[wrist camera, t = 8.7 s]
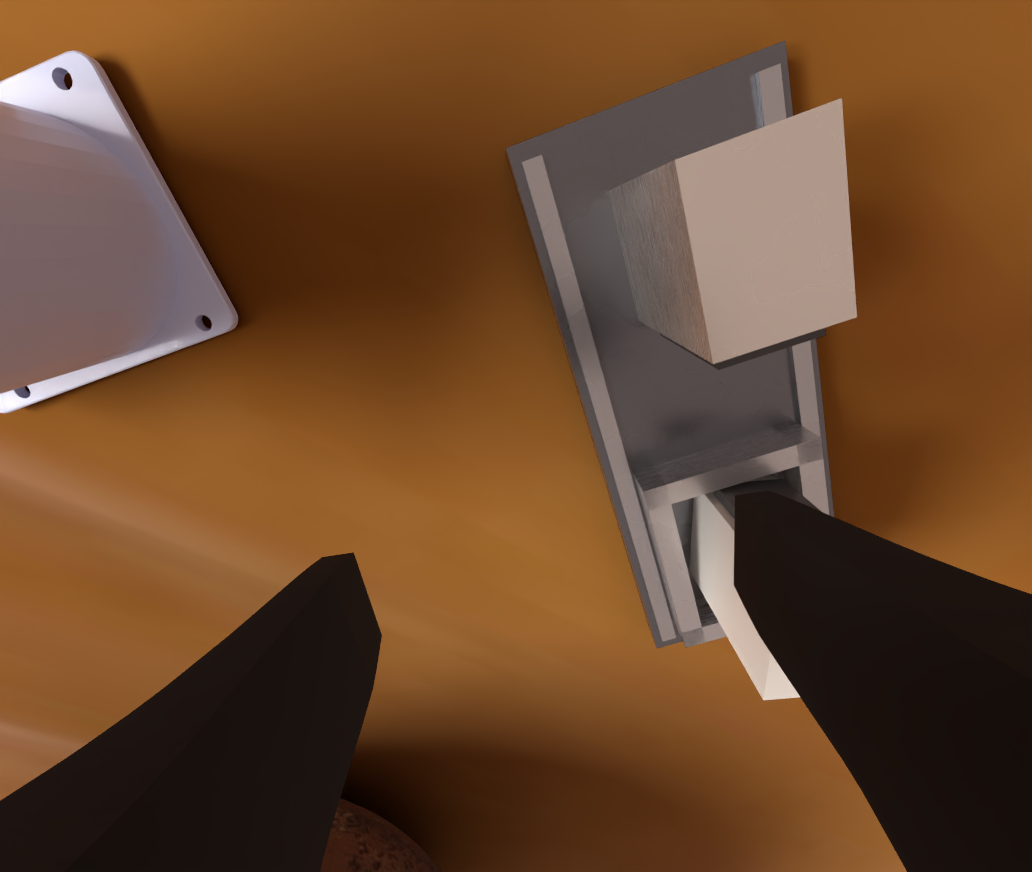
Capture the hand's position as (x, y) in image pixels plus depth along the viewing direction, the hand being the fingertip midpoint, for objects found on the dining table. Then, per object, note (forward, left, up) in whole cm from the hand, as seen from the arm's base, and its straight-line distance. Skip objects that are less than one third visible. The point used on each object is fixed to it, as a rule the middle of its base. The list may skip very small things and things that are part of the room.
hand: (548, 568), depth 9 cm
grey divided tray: (+6, -2, -9) cm, 11 cm away
